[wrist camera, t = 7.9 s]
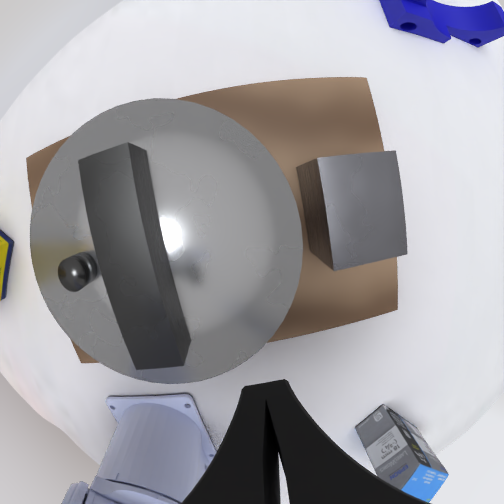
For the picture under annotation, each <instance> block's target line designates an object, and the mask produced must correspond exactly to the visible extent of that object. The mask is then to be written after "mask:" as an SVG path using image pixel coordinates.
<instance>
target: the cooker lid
mask: <svg viewBox="0 0 504 504" xmlns="http://www.w3.org/2000/svg"><path fill="white" fill-rule="evenodd" d="M30 249H31V257H32V264H33V268H34V272H35V276H36V280H37V283H38V286H39V288H40V291H41V294H42V296H43V298H44V300H45V302H46V304H47V306H48V308H49V310H50V312H51V313H52V315H53V317H54V318H55V320H56V321H57V323H58V324H59V325H60V327H61V328H62V329H63V330H64V332H65V333H66V334H67V335H68V337H69V338H70V339H71V340H72V341H73V342H74V343H75V344H76V345H77V346H79V347H80V348H81V349H82V350H83V351H84V352H86V353H87V354H88V355H89V356H91V357H92V358H93V359H95V360H97V361H98V362H100V363H101V364H103V365H105V366H106V367H108V368H110V369H112V370H114V371H116V372H119V373H121V374H123V375H126V376H129V377H132V378H135V379H139V380H144V381H148V382H154V383H165V384H180V383H190V382H196V381H202V380H205V379H209V378H212V377H215V376H218V375H220V374H223V373H225V372H227V371H229V370H232V369H234V368H235V367H237V366H238V365H240V364H242V363H243V362H245V361H247V360H248V359H249V358H250V357H252V356H253V355H254V354H255V353H256V352H258V351H259V350H260V349H261V348H262V347H263V346H264V345H265V344H266V343H267V342H268V340H269V339H270V338H271V337H272V336H273V335H274V333H275V332H276V331H277V329H278V328H279V326H280V325H281V323H282V322H283V320H284V318H285V316H286V314H287V312H288V310H289V308H290V306H291V304H292V302H293V299H294V296H295V293H296V290H297V287H298V283H299V278H300V273H301V268H302V254H303V240H302V228H301V221H300V217H299V213H298V208H297V204H296V201H295V198H294V196H293V193H292V191H291V188H290V185H289V183H288V181H287V179H286V177H285V176H284V174H283V172H282V170H281V168H280V167H279V165H278V163H277V162H276V161H275V159H274V158H273V157H272V155H271V154H270V153H269V151H268V150H267V149H266V147H265V146H264V145H263V144H262V143H261V142H260V141H259V140H258V139H257V138H256V137H255V136H254V135H253V134H252V133H250V132H249V131H248V130H247V129H245V128H244V127H243V126H241V125H240V124H239V123H237V122H236V121H234V120H233V119H231V118H230V117H228V116H226V115H224V114H222V113H220V112H218V111H216V110H214V109H212V108H209V107H206V106H203V105H200V104H197V103H194V102H189V101H183V100H177V99H156V98H155V99H146V100H139V101H133V102H130V103H126V104H123V105H119V106H116V107H114V108H112V109H110V110H107V111H105V112H103V113H101V114H99V115H98V116H96V117H94V118H93V119H91V120H90V121H88V122H87V123H85V124H84V125H83V126H81V127H80V128H79V129H78V130H77V131H76V132H74V133H73V134H72V135H71V136H70V137H69V138H68V139H67V140H66V142H65V143H64V144H63V145H62V146H61V147H60V148H59V150H58V151H57V153H56V154H55V156H54V157H53V159H52V160H51V162H50V163H49V165H48V167H47V169H46V171H45V173H44V175H43V177H42V179H41V182H40V184H39V187H38V190H37V193H36V196H35V200H34V204H33V209H32V215H31V224H30Z"/></svg>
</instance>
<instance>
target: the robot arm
mask: <svg viewBox="0 0 504 504" xmlns="http://www.w3.org/2000/svg"><path fill="white" fill-rule="evenodd" d="M105 402H106V404H107V406H108V407H109V409H110V411H111V412H112V414H113V416H114V417H115V419H116V421H117V422H118V426H117V428H116V431H115V433H114V435H113V437H112V440H111V442H110V444H109V447H108V449H107V451H106V454H105V456H104V458H103V461H102V463H101V466H100V468H99V470H98V473H97V475H96V476H95V478H94V480H93V482H92V485H91V487H90V489H88V484H87V483H85V482H83V481H80V482H79V483H72V484H71V485H70V487H69V489H68V491H67V493H66V495H65V497H64V499H63V502H62V504H280V479H279V457H278V452H279V455H280V459H281V462H282V466H283V469H284V473H285V476H286V481H287V488H288V495H289V501H290V504H430V503H428V502H425V501H423V500H421V499H419V498H416V497H414V496H412V495H410V494H407V493H405V492H404V491H402V490H400V489H398V488H396V487H395V486H393V485H391V484H389V483H388V482H386V481H384V480H382V479H381V478H379V477H377V476H376V475H374V474H373V473H371V472H370V471H369V470H367V469H366V468H364V467H363V466H362V465H360V464H359V463H358V462H356V461H355V460H354V459H353V458H351V457H350V456H349V455H348V454H347V453H345V452H344V451H343V450H342V449H341V448H340V447H339V446H338V445H337V444H336V443H335V442H334V441H333V440H332V439H331V438H330V437H329V436H328V435H327V434H326V433H325V432H324V431H323V430H322V429H321V428H320V427H319V426H318V425H317V423H316V422H315V421H314V420H313V419H312V417H311V416H310V415H309V414H308V413H307V411H306V410H305V409H304V407H303V406H302V405H301V403H300V402H299V400H298V399H297V397H296V396H295V394H294V392H293V390H292V389H291V387H290V384H289V382H288V381H287V380H285V379H283V380H278V381H272V382H267V383H261V384H255V385H249V386H244V388H243V389H242V391H241V395H240V399H239V402H238V405H237V408H236V411H235V413H234V416H233V419H232V421H231V423H230V426H229V428H228V430H227V433H226V435H225V437H224V439H223V441H222V443H221V445H220V447H219V449H218V450H217V452H216V449H215V447H214V445H213V443H212V441H211V439H210V437H209V435H208V433H207V430H206V428H205V426H204V424H203V422H202V419H201V417H200V415H199V413H198V410H197V408H196V406H195V403H194V401H193V398H192V397H191V396H190V395H188V394H180V395H165V396H143V397H107V398H106V400H105ZM187 404H190V405H187Z"/></svg>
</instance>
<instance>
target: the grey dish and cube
mask: <svg viewBox="0 0 504 504" xmlns="http://www.w3.org/2000/svg"><path fill="white" fill-rule="evenodd" d="M296 170H297V176H298V181H299V187H300V193H301V198H302V204H303V210H304V217H305V223H306V229H307V236H308V243H309V250H310V252H312V253H313V254H314V255H315V256H316V257H318V258H319V259H320V260H321V261H322V262H323V263H325V264H326V265H327V266H328V267H329V268H331V269H332V270H333V271H338V270H342V269H347V268H351V267H355V266H360V265H364V264H368V263H373V262H377V261H381V260H385V259H389V258H394V257H398V256H402V255H406V254H407V238H406V224H405V213H404V204H403V195H402V187H401V180H400V173H399V167H398V161H397V156H396V151H382V152H369V153H357V154H347V155H337V156H329V157H320V158H316V159H313V160H311V161H309V162H306V163H304V164H302V165H299V166H297V167H296Z"/></svg>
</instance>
